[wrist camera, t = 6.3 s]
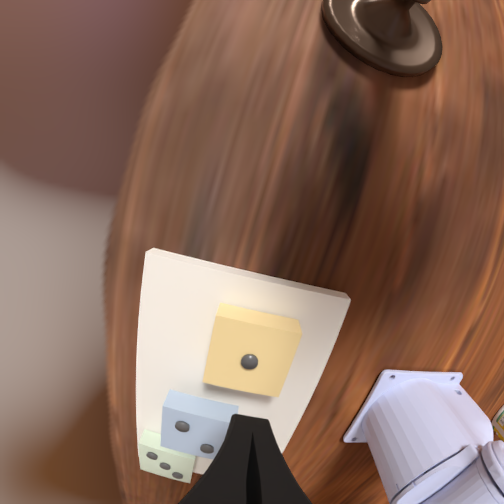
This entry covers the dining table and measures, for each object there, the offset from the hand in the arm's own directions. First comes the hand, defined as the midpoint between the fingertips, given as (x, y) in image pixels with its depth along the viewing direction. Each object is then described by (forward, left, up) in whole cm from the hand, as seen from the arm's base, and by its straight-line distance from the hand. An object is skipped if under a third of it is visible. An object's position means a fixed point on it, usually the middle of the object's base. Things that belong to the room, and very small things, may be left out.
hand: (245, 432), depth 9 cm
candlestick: (-4, -23, -9) cm, 25 cm away
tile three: (+4, +13, -7) cm, 15 cm away
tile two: (+2, +6, -6) cm, 9 cm away
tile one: (0, 0, -7) cm, 7 cm away
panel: (+1, +6, -8) cm, 10 cm away
